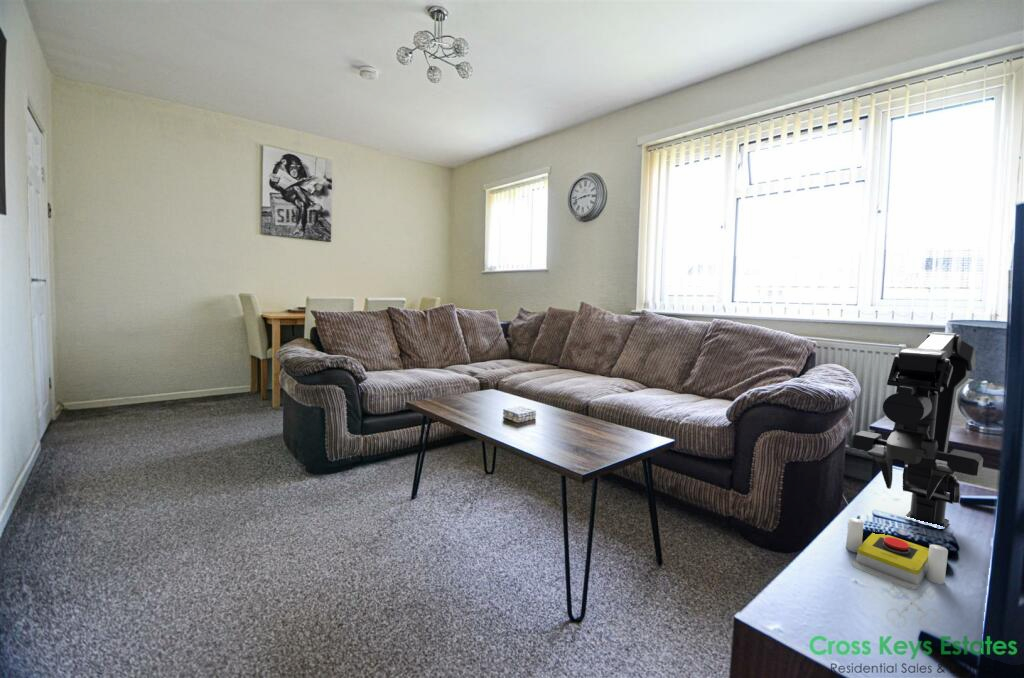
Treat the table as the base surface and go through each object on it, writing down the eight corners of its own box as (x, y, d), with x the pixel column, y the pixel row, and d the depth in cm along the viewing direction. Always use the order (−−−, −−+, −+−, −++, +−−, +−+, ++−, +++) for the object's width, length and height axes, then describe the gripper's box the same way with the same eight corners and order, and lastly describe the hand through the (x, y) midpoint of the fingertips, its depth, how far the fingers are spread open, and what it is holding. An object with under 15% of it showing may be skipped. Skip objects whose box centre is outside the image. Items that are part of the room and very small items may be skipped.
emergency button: (936, 541, 87) (917, 570, 78) (934, 563, 87) (914, 594, 78) (876, 522, 94) (851, 546, 85) (874, 542, 95) (850, 568, 86)
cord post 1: (848, 544, 93) (851, 516, 92) (862, 550, 91) (865, 521, 90) (844, 548, 91) (846, 520, 91) (858, 554, 89) (861, 525, 89)
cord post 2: (928, 574, 83) (931, 542, 83) (945, 580, 81) (949, 548, 81) (924, 579, 82) (928, 547, 81) (942, 585, 80) (946, 553, 79)
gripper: (843, 412, 90) (837, 487, 92) (977, 435, 75) (966, 525, 77) (862, 403, 97) (856, 474, 99) (987, 424, 82) (978, 506, 84)
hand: (908, 493), depth 89 cm, fingers open, 6 cm apart
